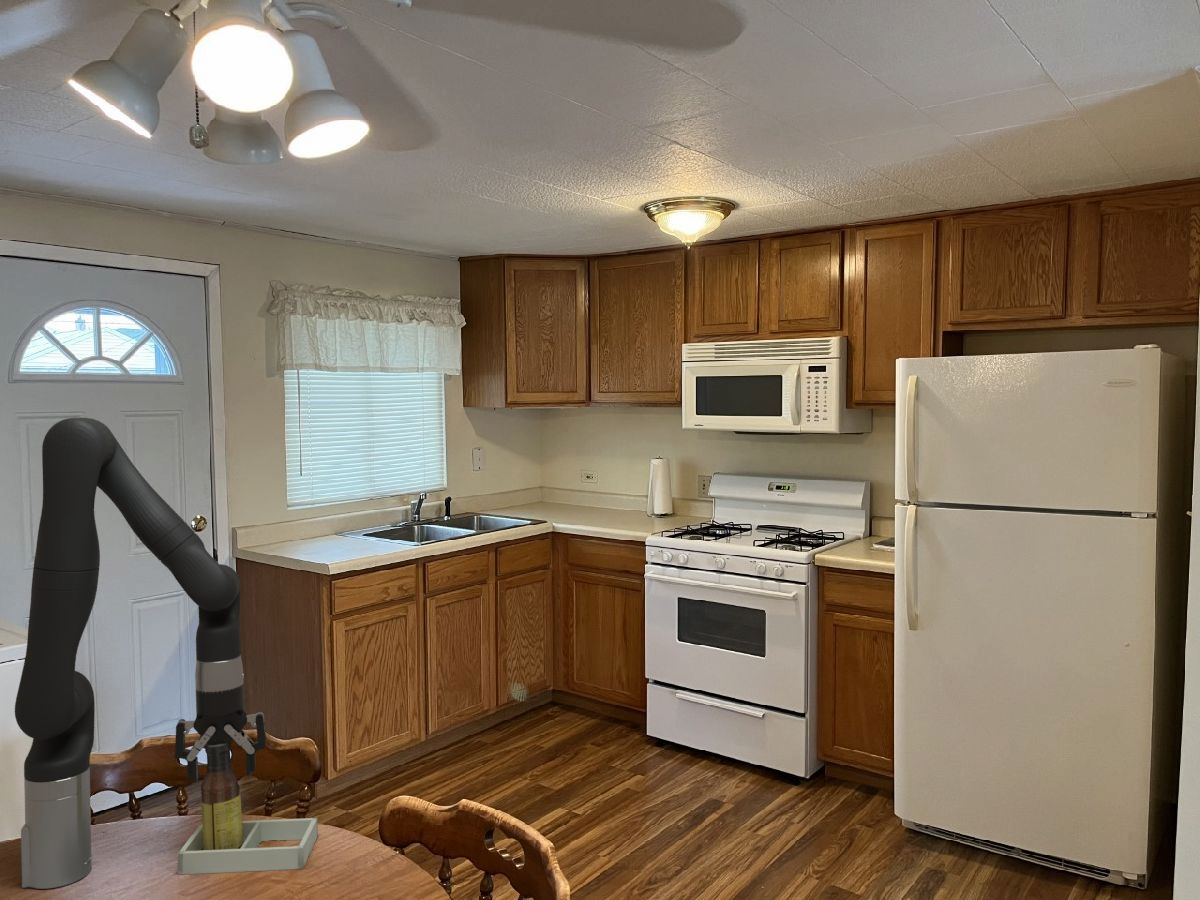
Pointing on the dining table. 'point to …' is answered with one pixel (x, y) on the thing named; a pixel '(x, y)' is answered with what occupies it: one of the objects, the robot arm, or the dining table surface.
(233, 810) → the sauce bottle
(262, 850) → the corral
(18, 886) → the dining table surface
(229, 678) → the robot arm
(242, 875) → the dining table surface
